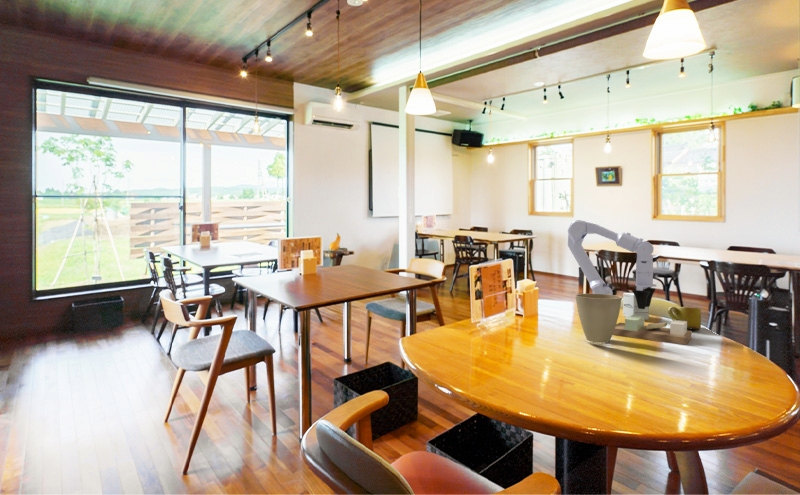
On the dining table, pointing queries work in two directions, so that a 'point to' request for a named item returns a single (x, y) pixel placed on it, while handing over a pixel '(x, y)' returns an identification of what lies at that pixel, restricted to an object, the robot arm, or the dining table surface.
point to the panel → (653, 334)
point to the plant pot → (598, 315)
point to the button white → (678, 327)
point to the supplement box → (633, 307)
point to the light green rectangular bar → (634, 322)
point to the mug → (687, 316)
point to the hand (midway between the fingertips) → (644, 307)
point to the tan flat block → (656, 325)
